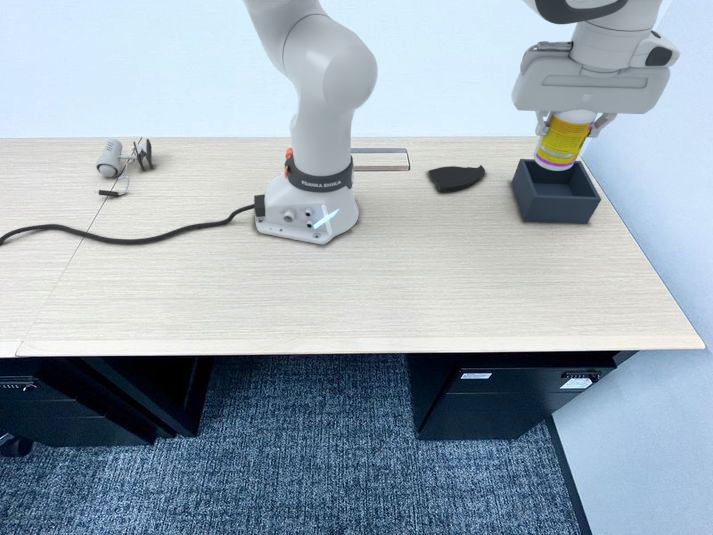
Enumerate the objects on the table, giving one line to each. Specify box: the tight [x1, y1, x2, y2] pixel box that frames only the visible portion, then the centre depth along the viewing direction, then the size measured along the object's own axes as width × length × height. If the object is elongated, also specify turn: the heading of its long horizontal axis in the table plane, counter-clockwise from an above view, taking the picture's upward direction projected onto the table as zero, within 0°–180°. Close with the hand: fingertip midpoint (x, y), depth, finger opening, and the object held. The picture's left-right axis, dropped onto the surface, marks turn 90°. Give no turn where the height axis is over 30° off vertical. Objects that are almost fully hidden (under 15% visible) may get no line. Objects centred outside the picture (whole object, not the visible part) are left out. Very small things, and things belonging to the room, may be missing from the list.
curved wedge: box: [428, 164, 486, 194], centre depth 96 cm, size 8×14×2 cm, turn 103°
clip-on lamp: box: [94, 138, 154, 198], centre depth 95 cm, size 12×6×18 cm
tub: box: [511, 158, 602, 225], centre depth 88 cm, size 14×14×7 cm
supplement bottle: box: [533, 94, 598, 171], centre depth 64 cm, size 7×7×13 cm
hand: (565, 134), depth 64 cm, fingers closed on supplement bottle, 6 cm apart
